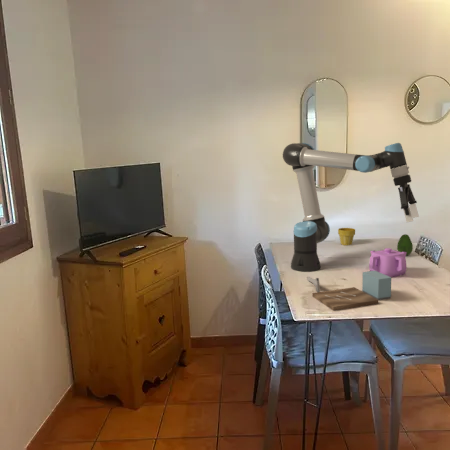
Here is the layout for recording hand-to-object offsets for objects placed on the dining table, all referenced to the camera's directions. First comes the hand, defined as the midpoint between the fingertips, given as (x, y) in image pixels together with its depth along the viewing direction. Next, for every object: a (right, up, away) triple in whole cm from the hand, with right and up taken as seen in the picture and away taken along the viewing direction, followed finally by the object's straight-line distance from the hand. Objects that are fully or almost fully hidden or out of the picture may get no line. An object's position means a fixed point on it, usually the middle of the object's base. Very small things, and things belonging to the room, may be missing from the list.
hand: (413, 219), depth 202 cm
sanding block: (-25, -32, -23) cm, 47 cm away
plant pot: (-12, -15, +69) cm, 72 cm away
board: (-40, -33, -27) cm, 58 cm away
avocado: (+12, -20, +38) cm, 44 cm away
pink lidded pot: (-9, -26, +7) cm, 29 cm away
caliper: (-49, -30, -6) cm, 58 cm away
